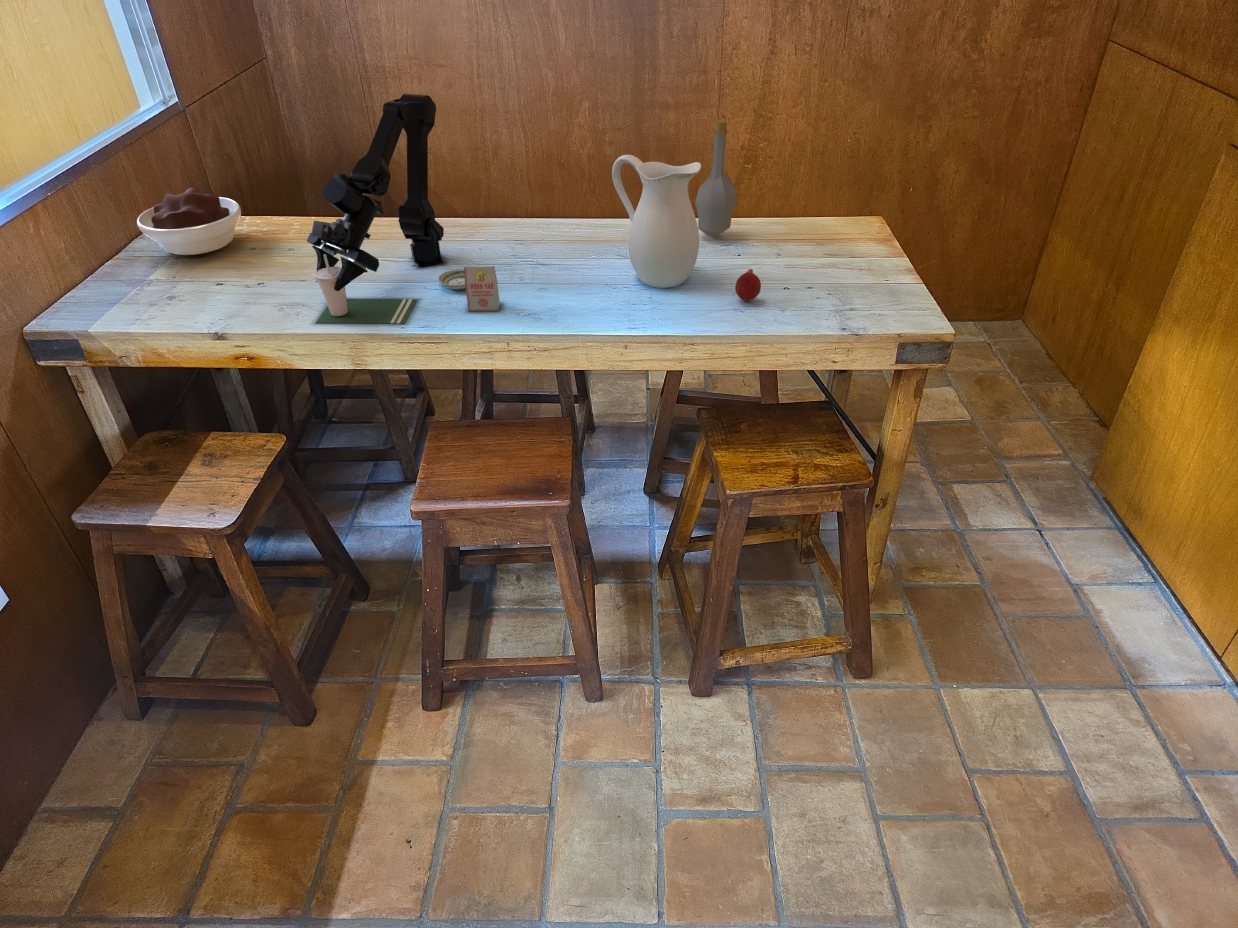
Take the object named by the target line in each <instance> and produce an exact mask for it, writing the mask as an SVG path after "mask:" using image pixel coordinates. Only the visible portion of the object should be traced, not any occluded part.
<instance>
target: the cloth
mask: <svg viewBox="0 0 1238 928" xmlns="http://www.w3.org/2000/svg"><path fill="white" fill-rule="evenodd" d="M346 300H347V309H348V312H347V313H346V314H345V315H342V316H333V315H331V312H330V310H329V308H328V305H327V306H326V307H325V309H324V310H323V312H322V313H321V314H320V316H319V317H318V319H317V320H316V322H315V324H358V325H359V324H362V325H363V324H365V325H366V324H369V325H370V324H374V325H376V324H377V325H378V324H379V325H384V324H385V325H404V324H405V323H406V321H407V320H408V318H409V316H410V314H411V312H412V310H413V309H414V306H415V304H416V302H417V301H418V299H416V298H346Z"/></svg>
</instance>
